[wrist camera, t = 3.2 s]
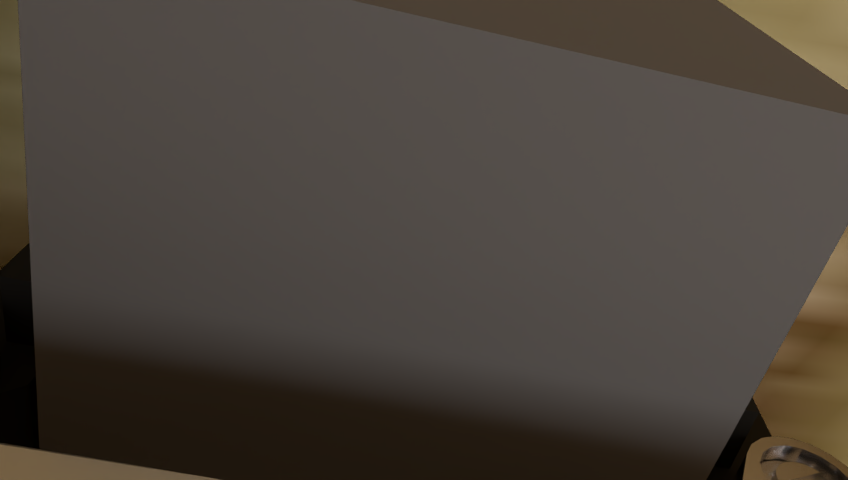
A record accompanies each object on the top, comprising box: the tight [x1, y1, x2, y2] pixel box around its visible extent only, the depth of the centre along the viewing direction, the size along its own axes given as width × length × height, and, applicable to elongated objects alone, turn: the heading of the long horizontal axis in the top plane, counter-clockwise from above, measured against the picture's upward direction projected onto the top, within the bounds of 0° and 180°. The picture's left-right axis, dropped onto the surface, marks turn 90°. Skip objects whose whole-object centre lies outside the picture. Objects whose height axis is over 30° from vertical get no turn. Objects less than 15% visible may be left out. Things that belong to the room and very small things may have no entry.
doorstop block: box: [18, 0, 848, 480], centre depth 10 cm, size 10×6×6 cm, turn 168°
